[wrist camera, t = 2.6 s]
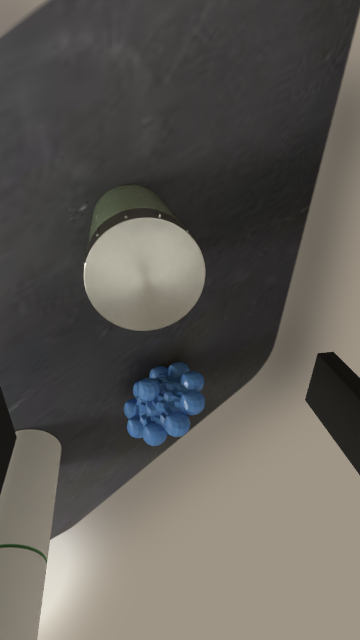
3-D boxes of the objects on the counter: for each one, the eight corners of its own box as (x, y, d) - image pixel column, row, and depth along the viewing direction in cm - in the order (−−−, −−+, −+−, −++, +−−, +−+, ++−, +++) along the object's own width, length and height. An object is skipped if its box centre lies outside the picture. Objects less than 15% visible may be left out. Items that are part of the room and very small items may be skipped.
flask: (73, 213, 34) (58, 259, 22) (144, 167, 33) (166, 190, 21) (121, 278, 38) (129, 344, 27) (184, 238, 37) (220, 289, 26)
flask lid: (61, 248, 24) (56, 262, 22) (161, 183, 23) (168, 191, 21) (127, 329, 29) (129, 349, 26) (213, 277, 28) (224, 293, 25)
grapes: (170, 324, 42) (191, 387, 32) (200, 355, 46) (228, 421, 36) (102, 377, 44) (101, 452, 34) (135, 403, 48) (144, 478, 38)
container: (44, 475, 51) (-13, 818, 26) (-13, 461, 48) (-146, 845, 22) (72, 439, 49) (38, 781, 23) (13, 421, 45) (-104, 805, 20)
